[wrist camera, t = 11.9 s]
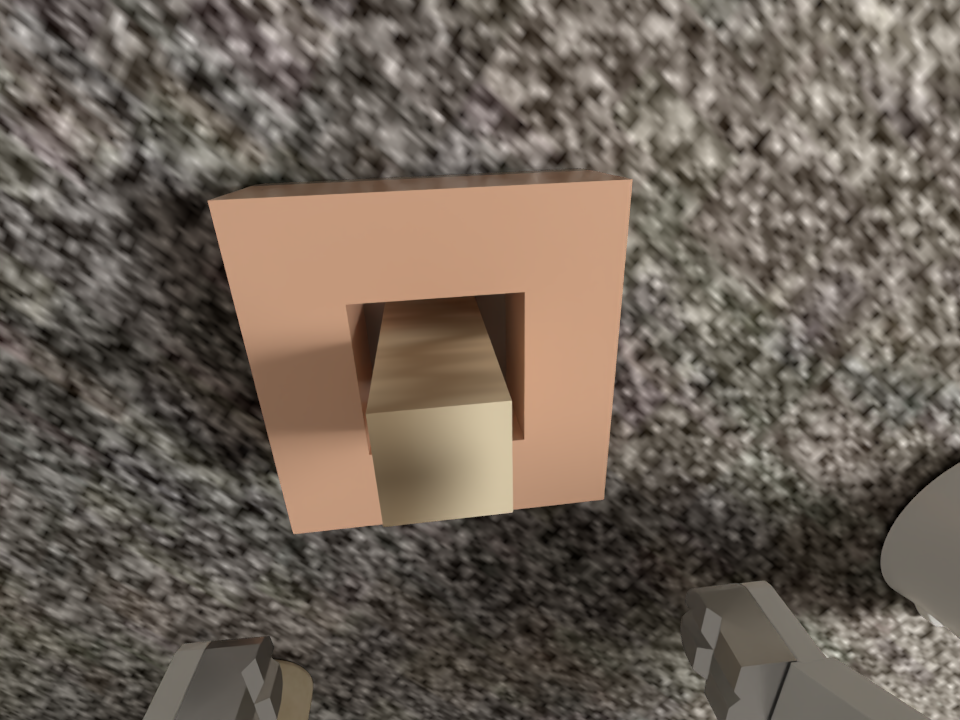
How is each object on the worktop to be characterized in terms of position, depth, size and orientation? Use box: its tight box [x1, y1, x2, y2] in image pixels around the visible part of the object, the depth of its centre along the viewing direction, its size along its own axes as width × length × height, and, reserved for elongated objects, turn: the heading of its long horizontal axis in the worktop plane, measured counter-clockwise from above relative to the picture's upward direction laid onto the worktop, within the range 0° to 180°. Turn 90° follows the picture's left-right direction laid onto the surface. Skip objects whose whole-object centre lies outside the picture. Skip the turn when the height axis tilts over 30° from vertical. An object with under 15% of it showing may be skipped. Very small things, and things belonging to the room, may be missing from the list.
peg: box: [366, 296, 513, 527], centre depth 19 cm, size 4×4×10 cm
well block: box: [208, 169, 633, 534], centre depth 22 cm, size 14×14×6 cm
